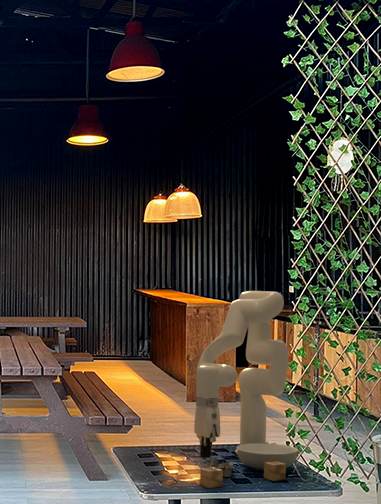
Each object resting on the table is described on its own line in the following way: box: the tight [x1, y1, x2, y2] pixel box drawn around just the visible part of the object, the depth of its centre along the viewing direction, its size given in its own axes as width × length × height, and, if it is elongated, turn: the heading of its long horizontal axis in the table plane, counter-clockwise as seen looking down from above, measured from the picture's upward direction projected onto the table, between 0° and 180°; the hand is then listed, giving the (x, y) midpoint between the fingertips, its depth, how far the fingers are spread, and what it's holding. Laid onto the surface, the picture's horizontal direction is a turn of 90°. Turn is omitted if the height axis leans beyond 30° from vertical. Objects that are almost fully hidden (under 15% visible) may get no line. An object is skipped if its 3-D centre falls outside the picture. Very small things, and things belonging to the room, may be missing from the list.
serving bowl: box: [236, 443, 299, 472], centre depth 288 cm, size 21×21×7 cm
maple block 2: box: [263, 461, 287, 482], centre depth 272 cm, size 5×5×5 cm
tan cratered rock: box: [209, 457, 234, 478], centre depth 277 cm, size 11×8×4 cm
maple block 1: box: [199, 466, 224, 489], centre depth 260 cm, size 5×5×5 cm
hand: (205, 457), depth 286 cm, fingers closed
